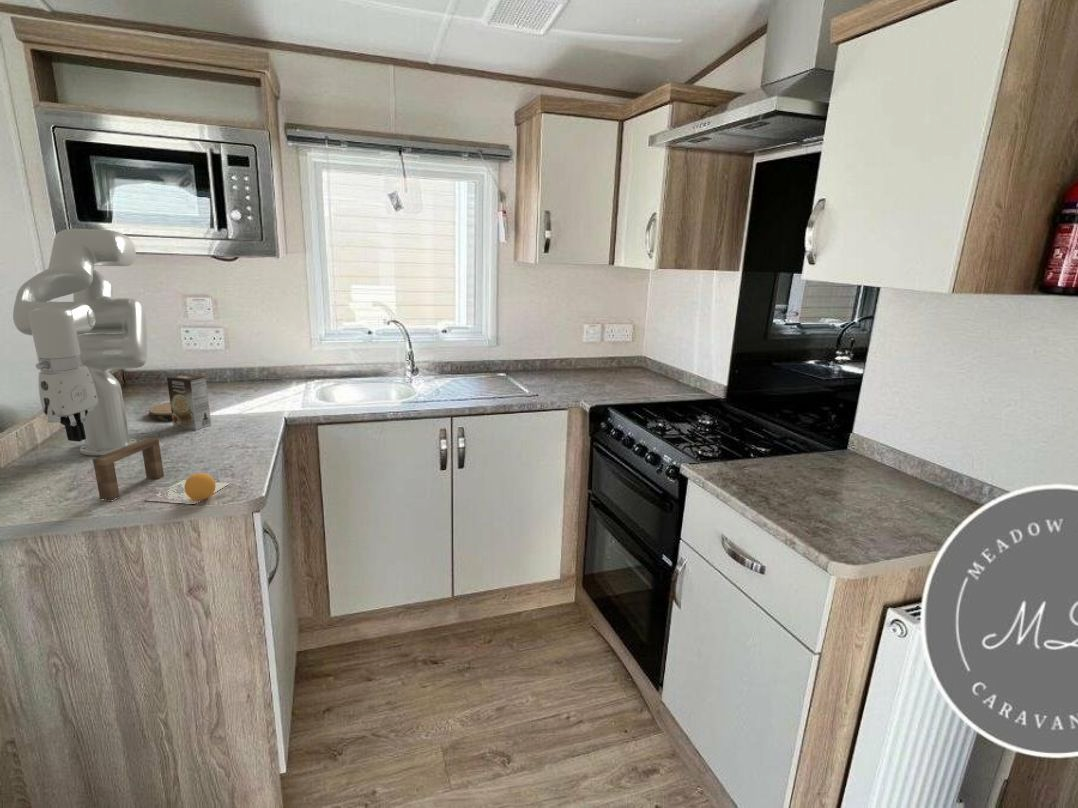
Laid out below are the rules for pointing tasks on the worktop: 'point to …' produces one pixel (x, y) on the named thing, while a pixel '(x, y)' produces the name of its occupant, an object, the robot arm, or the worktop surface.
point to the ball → (200, 486)
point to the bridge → (106, 462)
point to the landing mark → (186, 497)
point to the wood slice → (161, 412)
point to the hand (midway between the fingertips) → (77, 439)
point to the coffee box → (189, 401)
